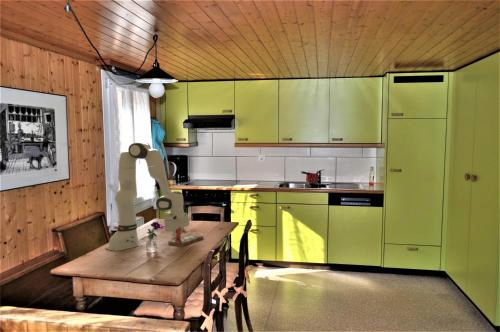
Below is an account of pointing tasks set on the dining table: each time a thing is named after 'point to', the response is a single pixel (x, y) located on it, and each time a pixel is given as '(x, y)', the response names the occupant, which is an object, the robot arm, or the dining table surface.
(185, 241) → the board
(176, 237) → the pawn
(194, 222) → the dining table surface
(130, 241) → the robot arm
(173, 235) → the die
